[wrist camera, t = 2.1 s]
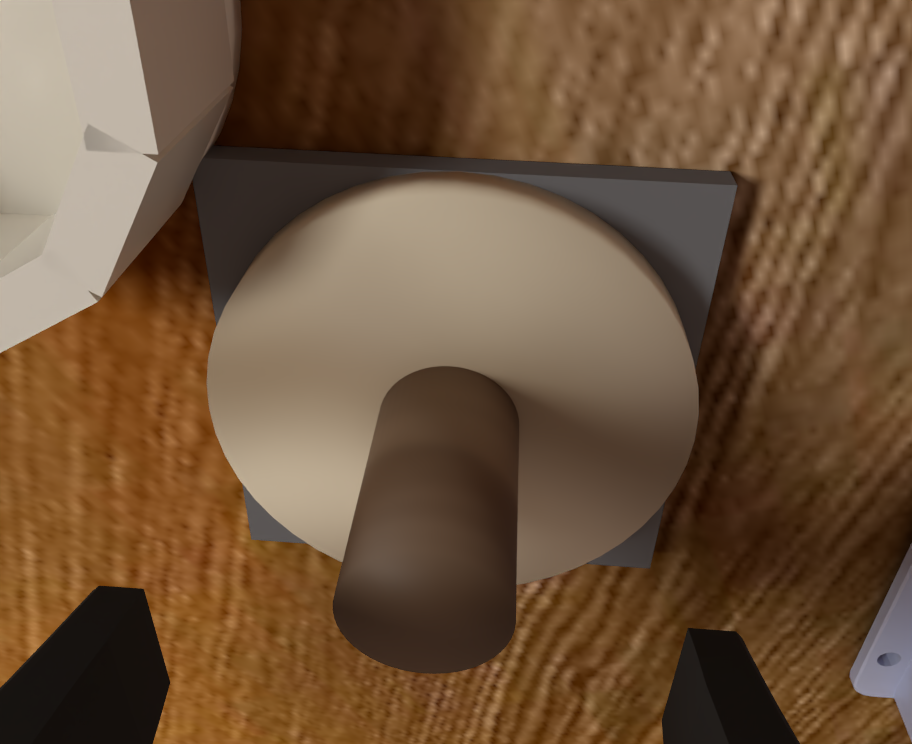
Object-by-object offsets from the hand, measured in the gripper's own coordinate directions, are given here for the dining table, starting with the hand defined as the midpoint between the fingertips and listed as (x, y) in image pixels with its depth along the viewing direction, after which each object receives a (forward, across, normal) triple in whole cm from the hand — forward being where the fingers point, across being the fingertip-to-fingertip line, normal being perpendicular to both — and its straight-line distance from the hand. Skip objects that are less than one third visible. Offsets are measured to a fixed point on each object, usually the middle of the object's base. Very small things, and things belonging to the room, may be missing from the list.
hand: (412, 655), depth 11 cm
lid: (+6, 0, 0) cm, 6 cm away
